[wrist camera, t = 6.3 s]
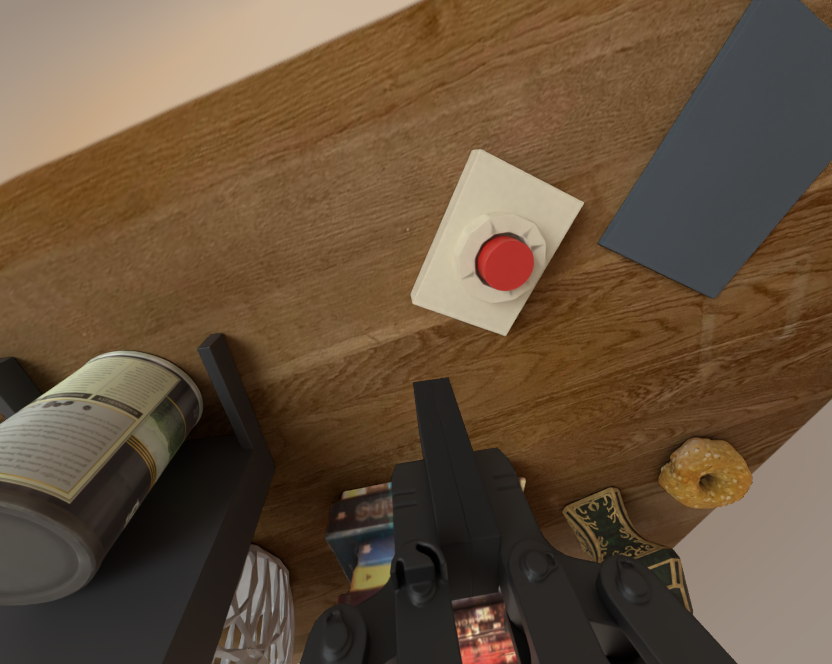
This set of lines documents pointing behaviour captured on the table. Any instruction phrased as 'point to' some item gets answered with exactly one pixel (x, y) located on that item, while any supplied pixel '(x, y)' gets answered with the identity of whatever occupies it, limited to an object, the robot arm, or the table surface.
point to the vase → (260, 612)
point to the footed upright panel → (157, 548)
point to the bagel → (706, 474)
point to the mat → (735, 151)
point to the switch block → (483, 221)
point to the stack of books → (370, 570)
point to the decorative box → (623, 539)
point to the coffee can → (85, 468)
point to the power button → (505, 263)
